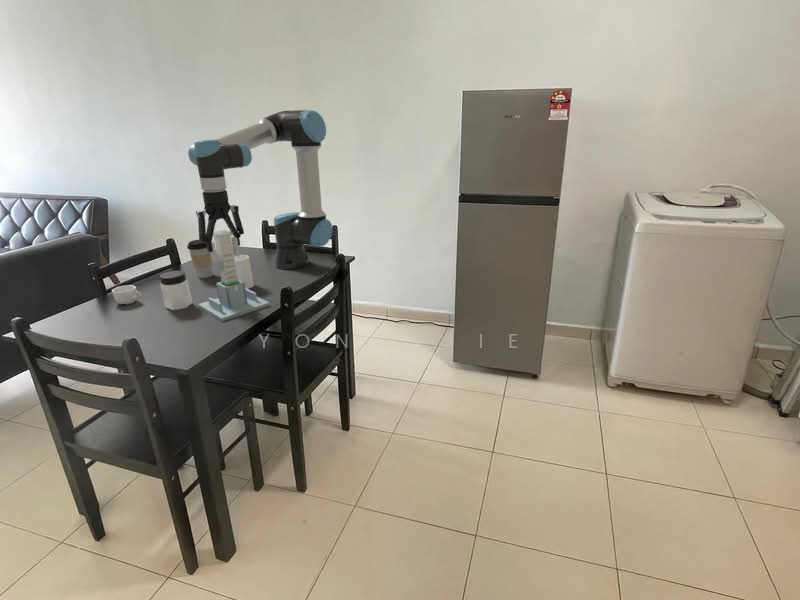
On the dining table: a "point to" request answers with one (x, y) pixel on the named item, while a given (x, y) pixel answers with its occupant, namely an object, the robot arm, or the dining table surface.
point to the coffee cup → (200, 258)
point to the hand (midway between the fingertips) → (226, 257)
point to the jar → (175, 290)
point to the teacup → (125, 294)
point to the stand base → (232, 302)
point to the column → (226, 257)
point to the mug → (244, 270)
